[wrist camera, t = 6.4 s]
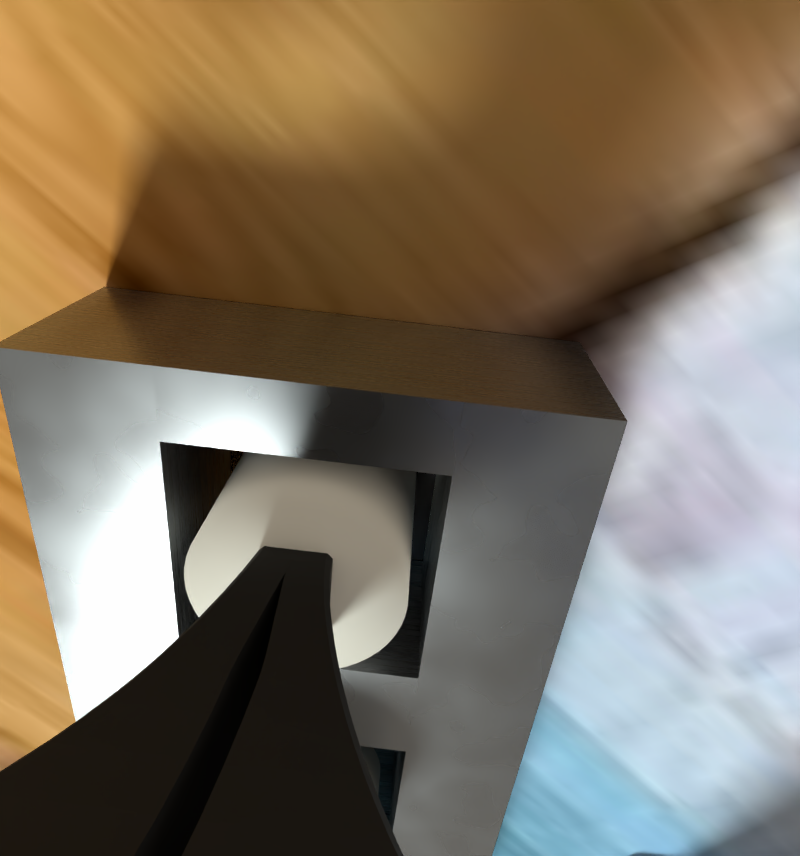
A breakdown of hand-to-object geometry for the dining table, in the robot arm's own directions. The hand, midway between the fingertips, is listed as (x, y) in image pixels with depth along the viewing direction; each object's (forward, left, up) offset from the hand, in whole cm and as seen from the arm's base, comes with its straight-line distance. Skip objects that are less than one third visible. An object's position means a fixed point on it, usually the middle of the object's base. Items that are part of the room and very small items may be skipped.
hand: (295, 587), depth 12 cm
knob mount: (0, +8, -4) cm, 9 cm away
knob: (0, 0, -4) cm, 4 cm away
